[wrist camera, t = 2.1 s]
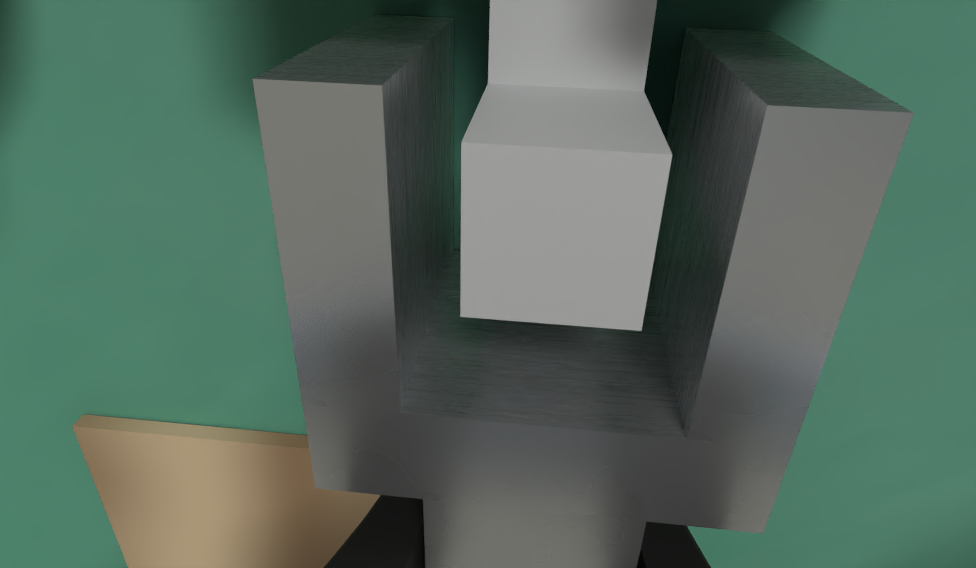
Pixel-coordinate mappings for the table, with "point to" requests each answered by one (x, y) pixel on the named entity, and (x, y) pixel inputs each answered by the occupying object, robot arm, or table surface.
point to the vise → (563, 167)
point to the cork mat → (214, 495)
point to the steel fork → (564, 348)
